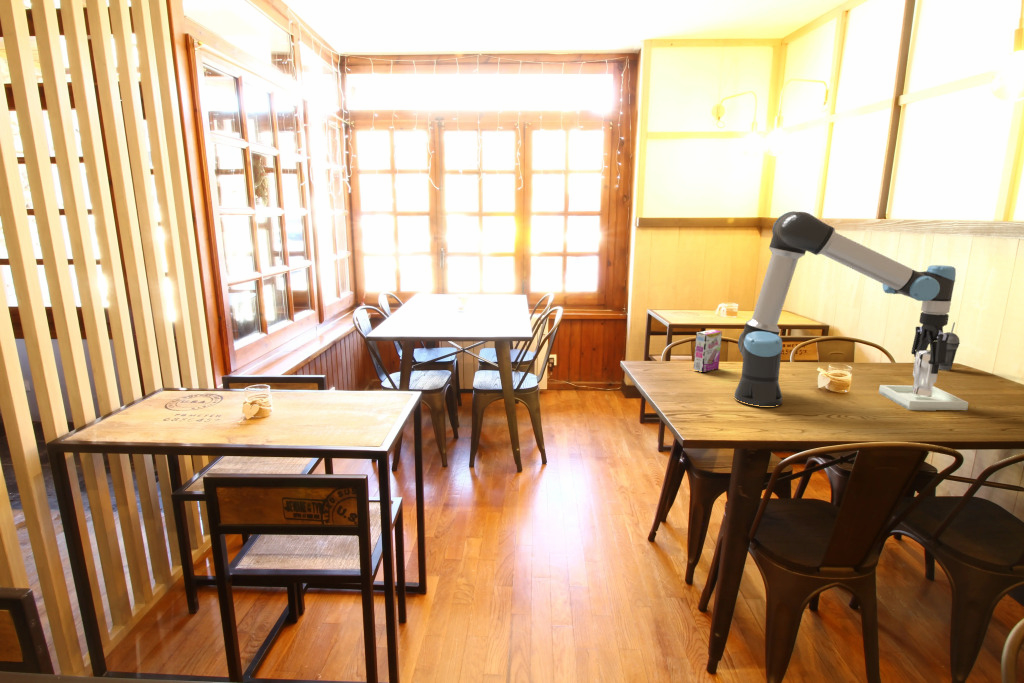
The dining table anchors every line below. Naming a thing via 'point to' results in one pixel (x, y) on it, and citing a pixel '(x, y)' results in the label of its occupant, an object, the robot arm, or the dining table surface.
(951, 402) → the tray
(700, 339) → the candy bar box
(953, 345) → the beverage cup
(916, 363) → the beer glass
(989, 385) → the dining table surface
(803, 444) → the dining table surface
